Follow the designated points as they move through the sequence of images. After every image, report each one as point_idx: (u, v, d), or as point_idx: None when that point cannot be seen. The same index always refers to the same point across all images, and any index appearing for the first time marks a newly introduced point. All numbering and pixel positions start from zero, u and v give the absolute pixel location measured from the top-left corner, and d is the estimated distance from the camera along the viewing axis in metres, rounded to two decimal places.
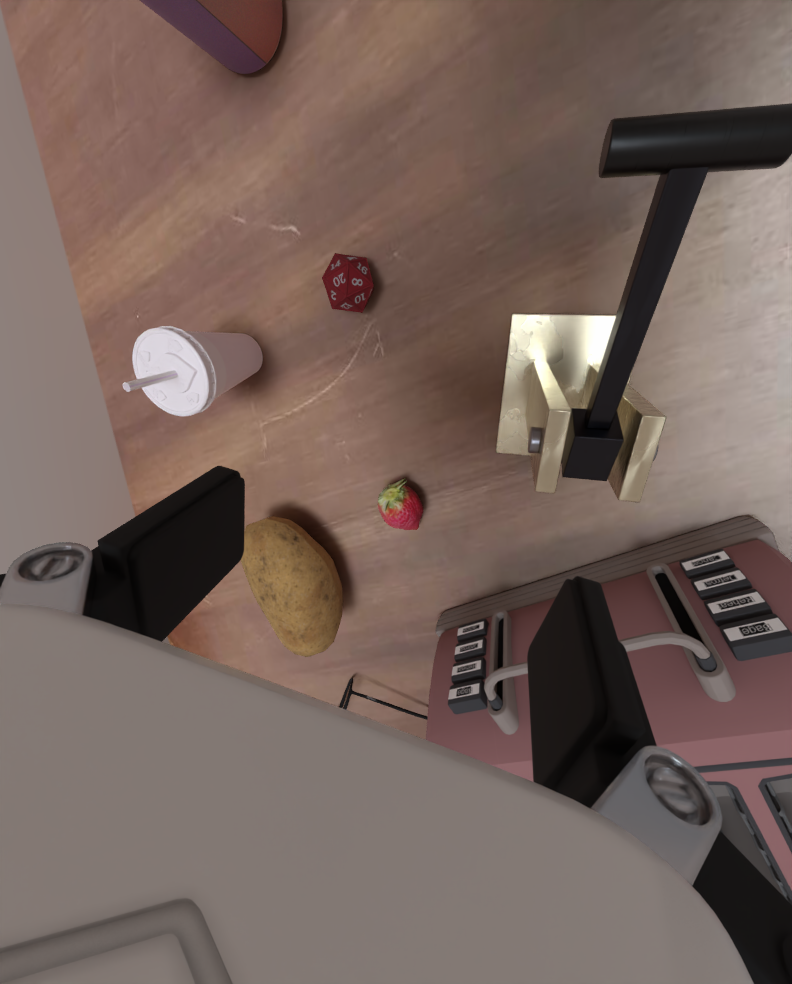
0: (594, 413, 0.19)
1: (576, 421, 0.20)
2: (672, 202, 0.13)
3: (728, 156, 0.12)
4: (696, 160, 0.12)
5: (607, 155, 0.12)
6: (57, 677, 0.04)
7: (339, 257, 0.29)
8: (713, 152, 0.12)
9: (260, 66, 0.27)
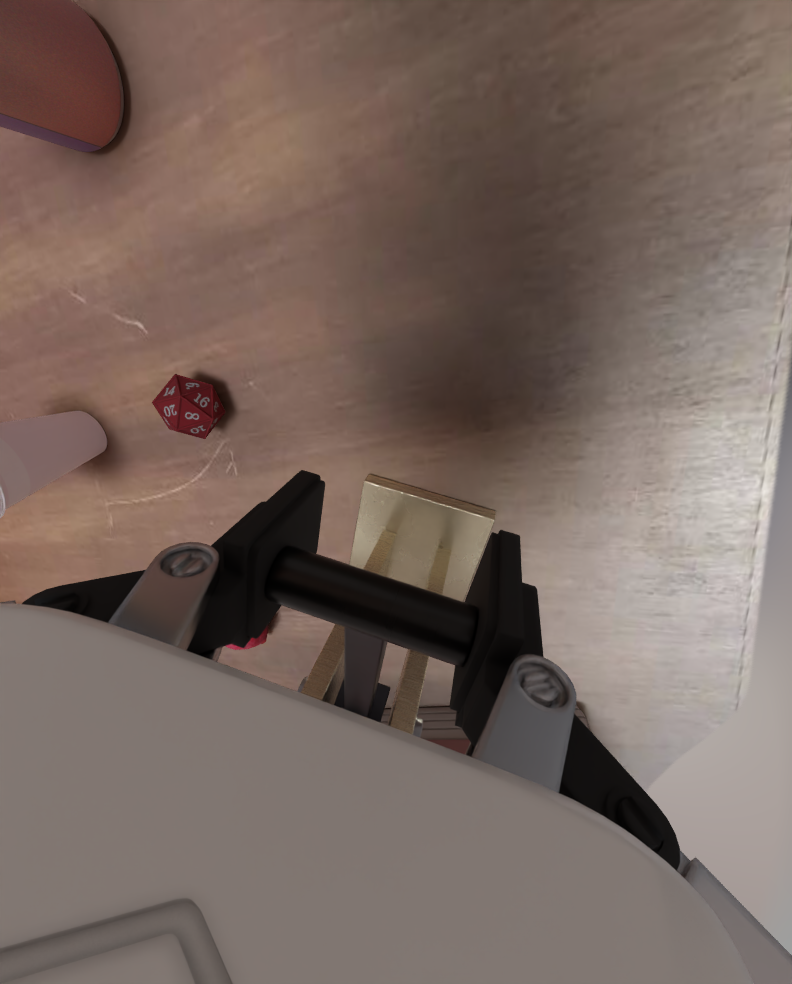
0: (347, 709, 0.17)
1: (339, 698, 0.18)
2: (357, 640, 0.11)
3: (396, 644, 0.10)
4: (364, 633, 0.10)
5: None
6: (57, 677, 0.04)
7: (176, 382, 0.25)
8: (382, 631, 0.10)
9: (93, 149, 0.22)
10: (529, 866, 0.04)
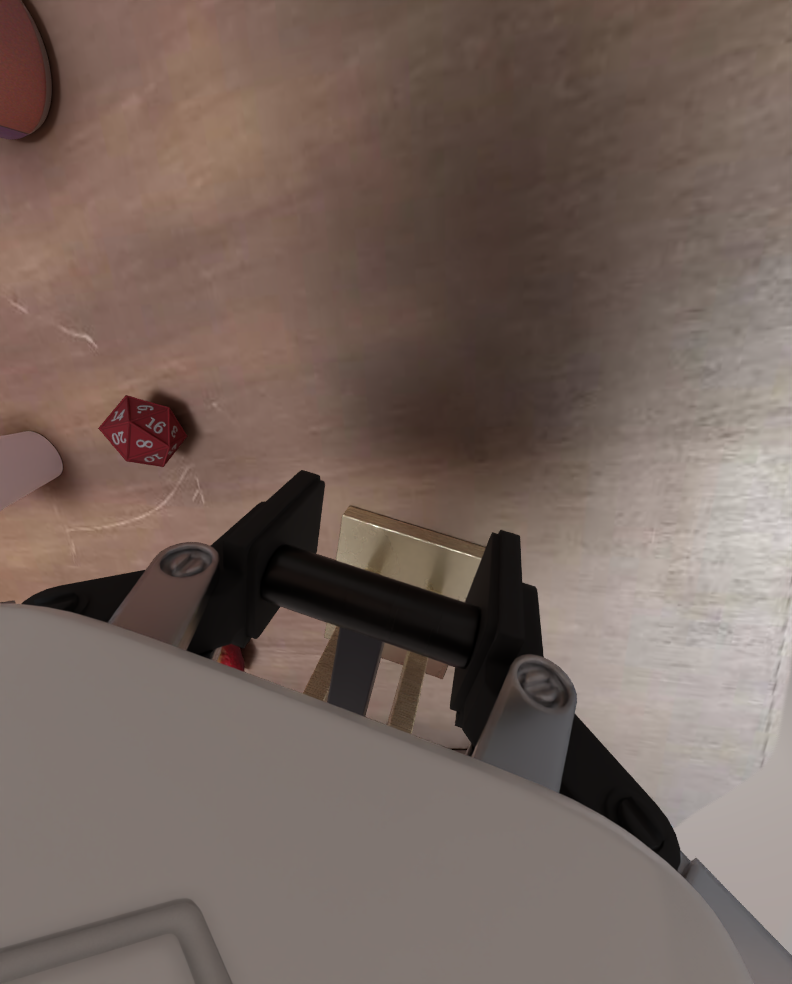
0: None
1: None
2: (349, 654, 0.10)
3: (396, 645, 0.09)
4: (362, 634, 0.09)
5: (261, 591, 0.09)
6: (57, 677, 0.04)
7: (126, 405, 0.22)
8: (381, 630, 0.09)
9: (19, 136, 0.19)
10: (529, 866, 0.04)
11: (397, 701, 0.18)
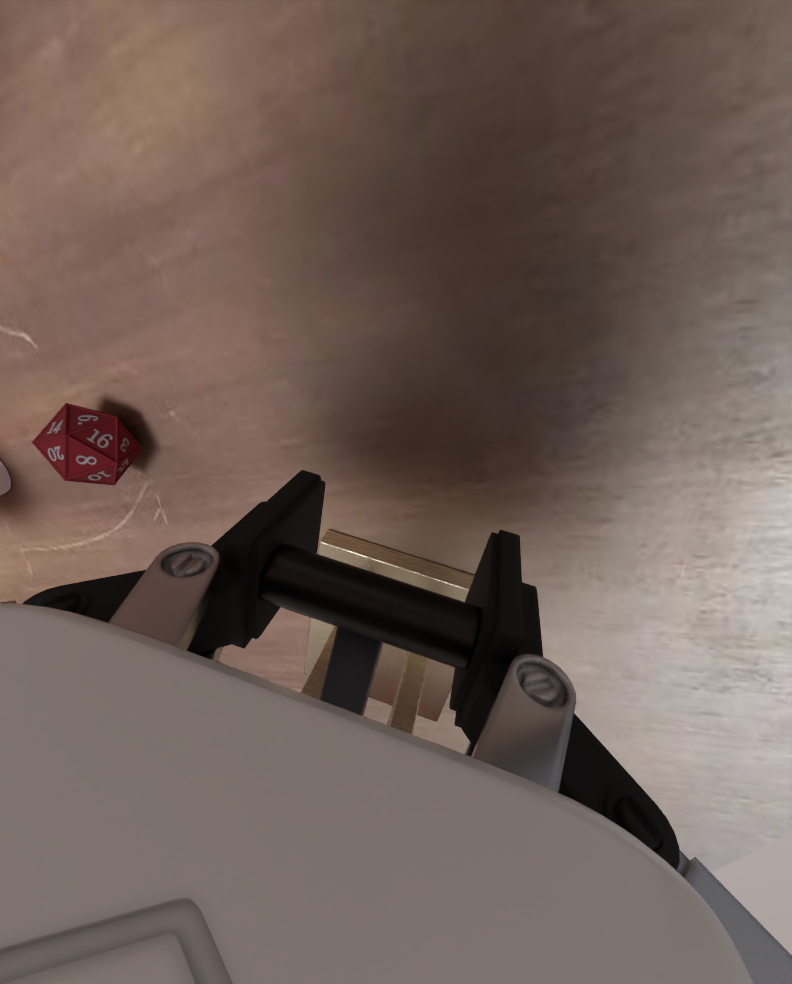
0: None
1: None
2: (344, 662, 0.09)
3: (397, 642, 0.09)
4: (362, 631, 0.09)
5: (260, 585, 0.09)
6: (57, 677, 0.04)
7: (65, 415, 0.19)
8: (382, 628, 0.09)
9: None
10: (529, 866, 0.04)
11: None
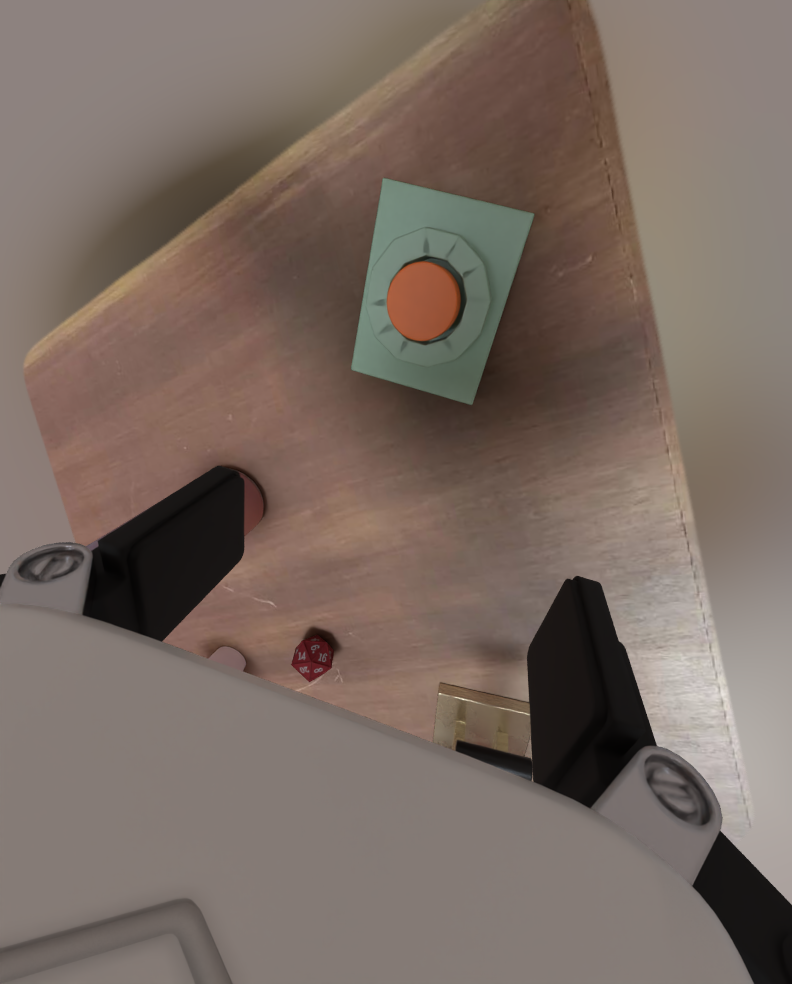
0: None
1: None
2: None
3: None
4: None
5: None
6: (57, 677, 0.04)
7: (305, 648, 0.38)
8: None
9: None
10: (529, 865, 0.04)
11: None
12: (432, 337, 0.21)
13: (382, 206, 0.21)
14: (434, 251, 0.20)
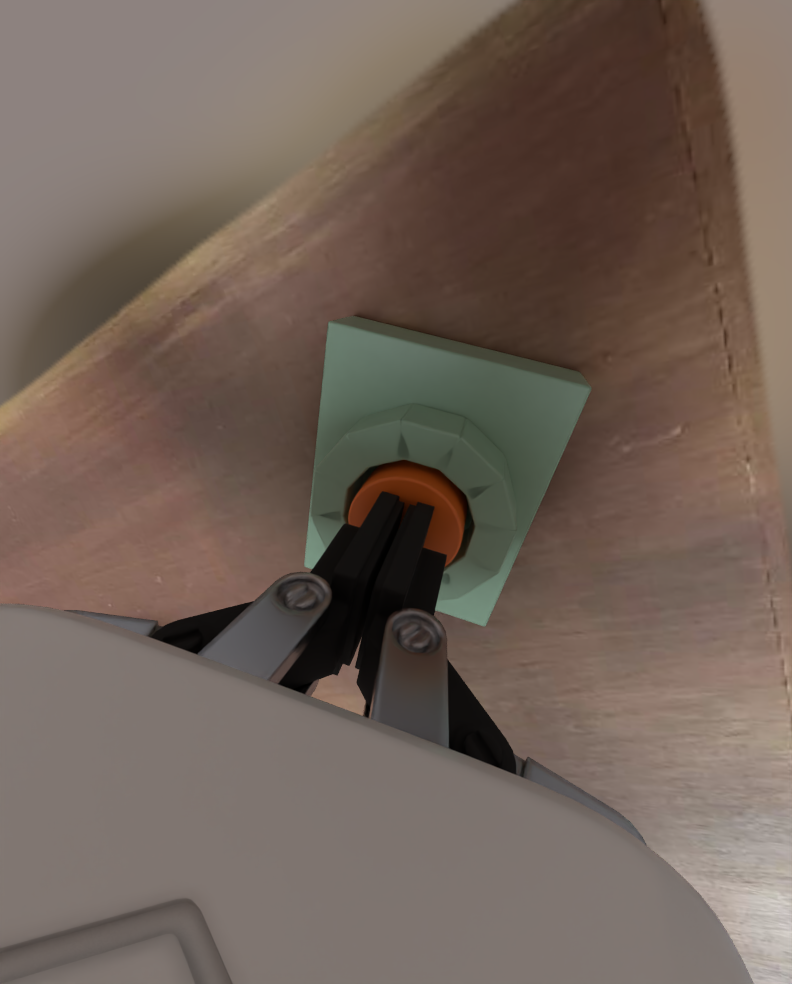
0: None
1: None
2: None
3: None
4: None
5: None
6: (57, 677, 0.04)
7: None
8: None
9: None
10: (529, 866, 0.04)
11: None
12: None
13: (331, 363, 0.13)
14: (417, 456, 0.12)
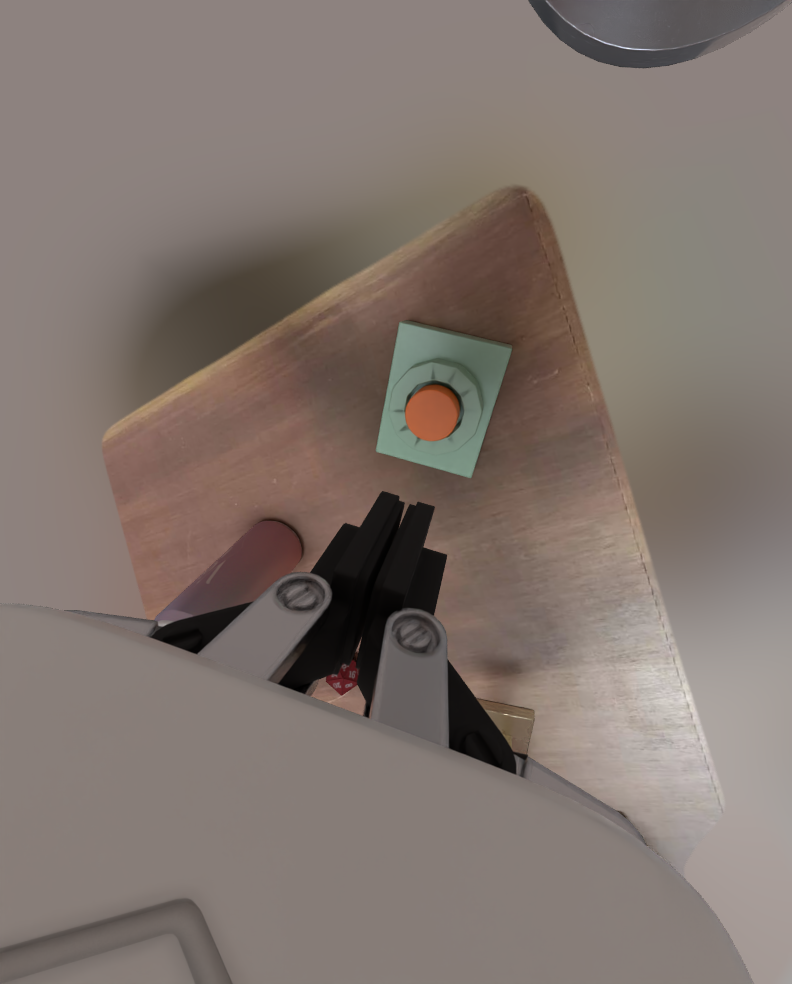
0: None
1: None
2: None
3: None
4: None
5: None
6: (57, 677, 0.04)
7: None
8: None
9: None
10: (529, 866, 0.04)
11: None
12: (439, 439, 0.28)
13: (399, 340, 0.28)
14: (439, 378, 0.27)
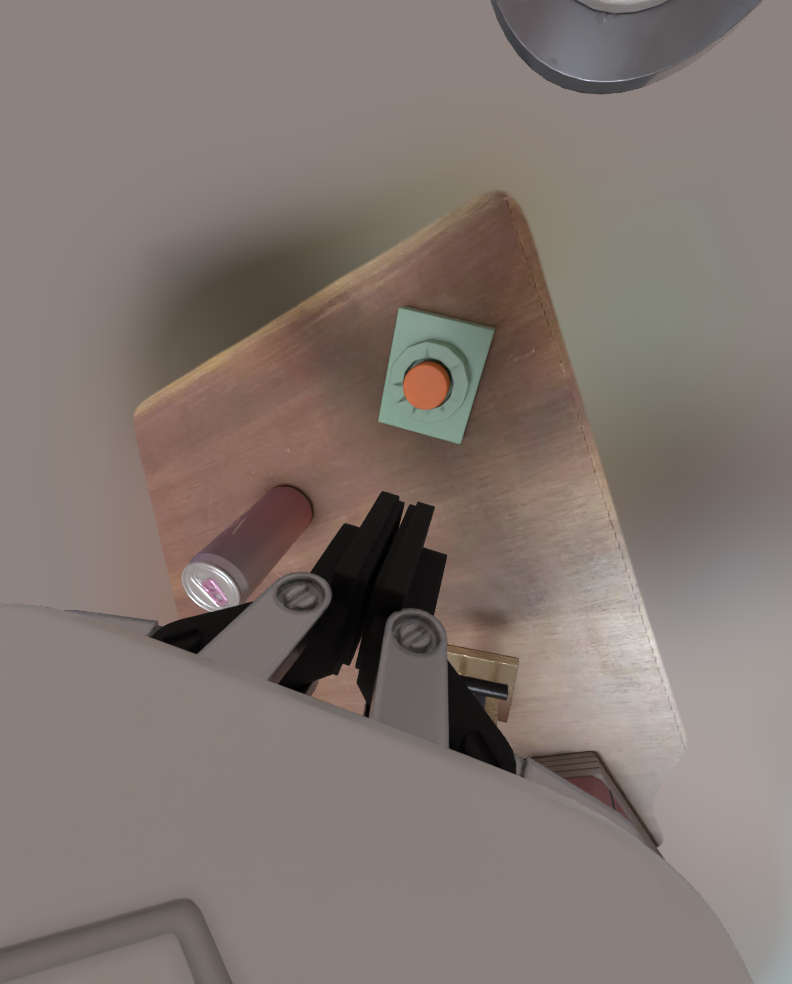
0: None
1: None
2: None
3: (489, 696, 0.38)
4: (481, 694, 0.39)
5: None
6: (57, 677, 0.04)
7: None
8: (485, 693, 0.39)
9: None
10: (529, 866, 0.04)
11: None
12: (432, 407, 0.33)
13: (398, 323, 0.33)
14: (432, 355, 0.32)
